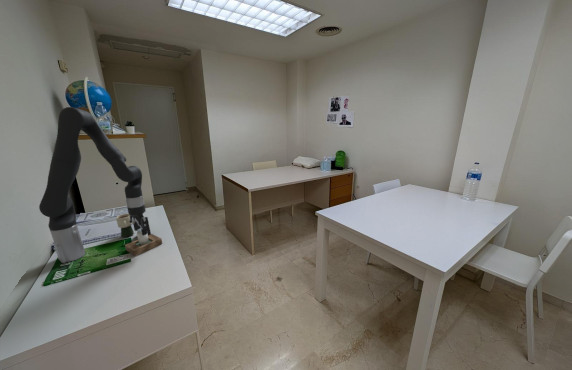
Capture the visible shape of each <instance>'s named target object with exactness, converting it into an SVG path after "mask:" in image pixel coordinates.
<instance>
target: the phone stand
mask: <svg viewBox="0 0 572 370" xmlns="http://www.w3.org/2000/svg"><path fill="white" fill-rule="evenodd" d="M146 217H147V221H148V226H149V227H148V228H146V229H147V234H148V235H151V234H152V233H151V228H150V222H149V217H148V216H146ZM140 228H141V227H140V226H139V229H140Z"/></svg>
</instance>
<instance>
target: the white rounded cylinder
mask: <svg viewBox="0 0 572 370" xmlns="http://www.w3.org/2000/svg"><path fill="white" fill-rule="evenodd" d="M136 236H137V240H138V241H139V245H141V246H143V245H145V244H147V243H149V239H148V234H146V235H142V231H141V228H140V229H138V230H137V231H136Z"/></svg>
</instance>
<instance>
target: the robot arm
mask: <svg viewBox="0 0 572 370" xmlns="http://www.w3.org/2000/svg"><path fill="white" fill-rule="evenodd" d="M81 131H82V132H83V133H84V134H86V135H87V137H89V138H90V139H91V140H92V142H93V143H94V145H95V146H96V149H97V151H98V153H99V154H100V155H101V157H103V158H104V160H105V161H106V162H107V163H108V164H110V165H109V166H111V168H112V170H113V171H114V173H115V175H116V176H117V178H118V179H119V180H121V181H122V182H124V183H127V184H126V185H125V187H124V194H125V203H126V204H125V205H126V208H127V214H129V215H130V221H131V223H132V225H133V231H135V232H137V230H138V229H139V226H140V227H141V231H142V235H146V234H147V229H146V228H148V227H150V225H149V226H148V222H149V220H148V221H147V217H148V216H144V213H146V210H147V209H146V206H145V200H144V199H145V198H144V196H143V195H144V194H143V190H142V184H143V182H142V181H143V173H142V171H141V169H140V168H139V167H138V166H136V165H129V166H127V164H126V163H127V162H126V161H127V158H126V156H125V155H124V154H123V153H122V152H121V151H120V149H118V148H117V146H116V145H115V144H114V143H113V142H112V141H111V139H109V138H108V136H107V135H106V133H105V132H104V131H103V129H102V128H101V126H100V125H99V124H98V122H97V120H96V118H95V117H94V116H93V115H92V114H91V113H90V112H89V111H86V110H85V109H80V108H77V107H74V106H73V107H72V106H67V107H64V108H62V109H61V111H60V112H59V114H58V121H57V132H56V133H57V134H56V139H55V143H54V149H53V152H52V155H51V156H52V157H51V160H50V166H49V171H48V175H47V183H46V188H45V191H44V193H43V196H42V199H41V200H40V203H39V206H38V209H39V212H40V213H41V214H42V215H43V216H45V217H48V218H49V220H48V228H49V232H50V234H51V238H52V241H53V243H52V244H53V246H54V250H55V252H56V256H57V259H58V260H59V261H60V262H61V263H62V264H65V263H69V262H73V261H76V260H79V259H81V258H82V257H84V256H85V255H86V251H85V247H84V244H83V240H82V237H81V234H80V230H79V227H78V224H77V214H76V211H75V206H74V203H73V200H72V199H71V197H70V196H69V192H70V190H71V187H72V184H73V183H74V182H75V179H76V178H77V177H76V176H77V175H78V173H79V170H80V166H81V162H82V161H81V160H82V155H81V151H80V147H79V136H80V133H81Z"/></svg>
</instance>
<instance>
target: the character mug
mask: <svg viewBox="0 0 572 370" xmlns="http://www.w3.org/2000/svg"><path fill="white" fill-rule="evenodd" d="M115 219H116V223H117V227H118V228H119V229H120V235H121V237H122V238H123V237H124V238H125V237H131V236H133V235H134V234H135V233H134V228H133V227H132V225H133V224H132V223H131V221H130V215H129V214H128V213H123V214H119V215H117V216H116V217H115Z"/></svg>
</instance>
